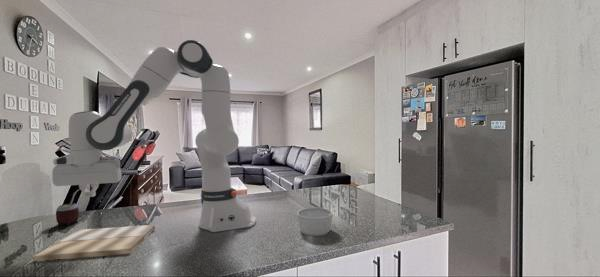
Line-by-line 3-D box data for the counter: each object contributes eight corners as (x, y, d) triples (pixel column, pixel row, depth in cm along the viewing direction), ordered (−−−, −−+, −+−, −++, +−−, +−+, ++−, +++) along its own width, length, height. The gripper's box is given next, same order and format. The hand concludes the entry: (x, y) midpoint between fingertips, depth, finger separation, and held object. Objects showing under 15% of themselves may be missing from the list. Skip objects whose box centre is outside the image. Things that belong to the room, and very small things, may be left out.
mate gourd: (55, 224, 108) (54, 188, 108) (80, 219, 114) (79, 185, 113) (56, 229, 103) (55, 191, 102) (82, 224, 108) (81, 187, 108)
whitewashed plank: (154, 228, 102) (154, 224, 101) (144, 239, 92) (144, 235, 92) (78, 234, 97) (78, 229, 97) (58, 246, 87) (58, 241, 87)
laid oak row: (143, 240, 91) (143, 235, 91) (130, 253, 81) (130, 248, 81) (57, 247, 87) (57, 242, 87) (32, 261, 77) (32, 256, 77)
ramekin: (301, 239, 91) (301, 219, 91) (293, 226, 104) (293, 208, 104) (337, 235, 94) (337, 216, 94) (325, 223, 107) (325, 206, 107)
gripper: (123, 155, 98) (126, 192, 98) (60, 158, 94) (63, 196, 95) (115, 157, 92) (117, 196, 92) (47, 160, 88) (50, 201, 89)
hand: (89, 196), depth 94 cm, fingers closed
